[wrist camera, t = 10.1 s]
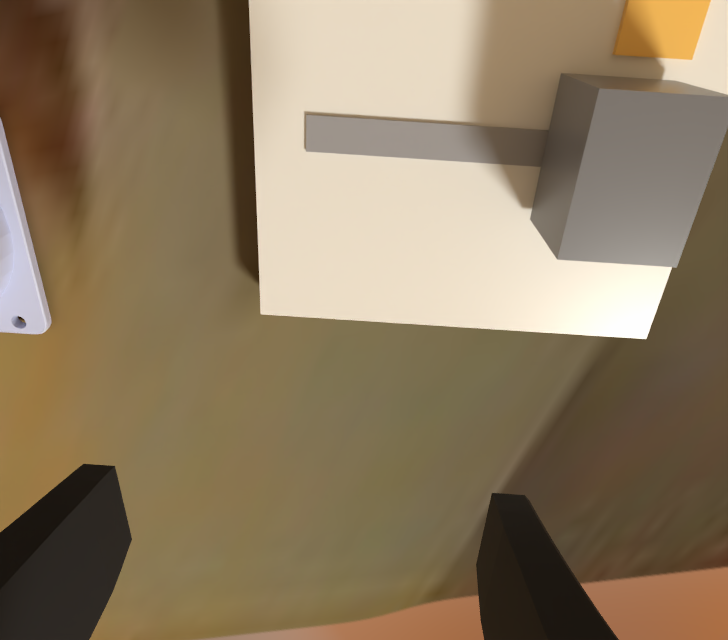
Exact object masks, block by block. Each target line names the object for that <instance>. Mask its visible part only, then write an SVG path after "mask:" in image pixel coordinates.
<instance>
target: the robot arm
mask: <svg viewBox="0 0 728 640" xmlns="http://www.w3.org/2000/svg"><path fill="white" fill-rule="evenodd" d="M18 316H19V317H22V318H23V319H24V320H25V322H26V323H24V322H22V321H20V320H19V318H18ZM50 325H51V316H50V312H49V308H48V304H47V300H46V296H45V292H44V288H43V284H42V280H41V276H40V272H39V268H38V264H37V260H36V256H35V252H34V248H33V244H32V240H31V236H30V232H29V228H28V224H27V220H26V216H25V212H24V208H23V204H22V200H21V196H20V192H19V188H18V184H17V180H16V176H15V172H14V168H13V164H12V160H11V156H10V152H9V148H8V144H7V140H6V136H5V132H4V128H3V124H2V121H1V118H0V332H8V333H24V334H42V333H44V332H45V331H46V330H47V329H48V328H49V327H50ZM131 540H132V538H131V533H130V529H129V525H128V521H127V516H126V512H125V508H124V503H123V499H122V495H121V490H120V486H119V482H118V478H117V473H116V469H115V466H105V465H91V464H83V465H82V466H80V467H79V468H78V469H77V470H75V471H74V472H73V473H72V474H71V475H69V476H68V477H67V478H66V479H65V480H63V481H62V482H61V483H60V484H58V485H57V486H56V487H55V488H54V489H52V490H51V491H50V492H49V493H48V494H46V495H45V496H44V497H43V498H42V499H40V500H39V501H38V502H37V503H36V504H34V505H33V506H32V507H31V508H30V509H28V510H27V511H26V512H25V513H24V514H22V515H21V516H20V517H19V518H18V519H16V520H15V521H14V522H13V523H12V524H10V525H9V526H8V527H7V528H5V529H4V530H3V531H2V532H0V640H89V639H90V637H91V635H92V633H93V631H94V629H95V627H96V625H97V623H98V621H99V619H100V617H101V615H102V613H103V611H104V609H105V607H106V605H107V603H108V600H109V598H110V596H111V594H112V592H113V590H114V587H115V584H116V582H117V579H118V576H119V574H120V571H121V568H122V566H123V563H124V560H125V557H126V554H127V551H128V548H129V546H130V543H131ZM476 566H477V580H478V593H479V605H480V616H481V624H482V630H483V635H484V640H619V639H618V638H617V637H616V635H615V634H614V633H613V631H612V630H611V628H610V627H609V626H608V624H607V623H606V621H605V620H604V619H603V617H602V616H601V614H600V613H599V612H598V610H597V609H596V607H595V606H594V604H593V603H592V601H591V600H590V598H589V597H588V595H587V594H586V592H585V591H584V589H583V588H582V586H581V585H580V583H579V582H578V580H577V579H576V577H575V576H574V574H573V573H572V571H571V570H570V568H569V566H568V565H567V563H566V562H565V560H564V558H563V557H562V555H561V554H560V552H559V550H558V549H557V547H556V546H555V544H554V542H553V541H552V539H551V537H550V536H549V534H548V532H547V531H546V529H545V527H544V526H543V524H542V522H541V520H540V519H539V517H538V515H537V513H536V512H535V510H534V508H533V506H532V505H531V503H530V501H529V500H528V499H527V497H526V496H525V495H513V494H499V493H492V496H491V500H490V505H489V509H488V514H487V518H486V523H485V527H484V532H483V537H482V541H481V546H480V550H479V555H478V559H477V564H476Z"/></svg>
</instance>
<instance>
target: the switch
mask: <svg viewBox="0 0 728 640" xmlns="http://www.w3.org/2000/svg"><path fill="white" fill-rule="evenodd" d="M727 128H728V95H727V94H723V93H719V92H716V91H712V90H708V89H705V88H701V87H697V86H694V85H690V84H686V83H683V82H679V81H675V80H660V79H645V78H630V77H615V76H600V75H585V74H569V73H561V75H560V80H559V85H558V89H557V94H556V99H555V103H554V108H553V113H552V118H551V122H550V127H549V132H548V136H547V141H546V146H545V150H544V155H543V160H542V165H541V169H540V174H539V179H538V183H537V188H536V193H535V197H534V202H533V207H532V211H531V216H530V220H531V222H532V223H533V225H534V226H535V228H536V229H537V231H538V232H539V233H540V235H541V236H542V238H543V239H544V241H545V242H546V244H547V245H548V247H549V248H550V250H551V251H552V253H553V254H554V256H555V257H556V259H557V260H570V261H586V262H601V263H616V264H632V265H647V266H663V267H677V265H678V262H679V259H680V257H681V254H682V251H683V248H684V246H685V243H686V240H687V237H688V235H689V232H690V229H691V226H692V224H693V221H694V218H695V215H696V213H697V210H698V207H699V204H700V202H701V199H702V196H703V193H704V191H705V188H706V185H707V183H708V180H709V177H710V174H711V172H712V169H713V166H714V163H715V161H716V158H717V155H718V152H719V150H720V147H721V144H722V141H723V139H724V136H725V133H726V130H727Z"/></svg>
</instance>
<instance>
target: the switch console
mask: <svg viewBox="0 0 728 640" xmlns="http://www.w3.org/2000/svg"><path fill="white" fill-rule="evenodd" d="M249 19H250V45H251V71H252V98H253V124H254V150H255V177H256V203H257V230H258V256H259V282H260V309H261V314H265V315H281V316H296V317H312V318H327V319H343V320H359V321H374V322H390V323H405V324H421V325H436V326H452V327H467V328H483V329H498V330H514V331H529V332H545V333H561V334H576V335H592V336H607V337H623V338H638V339H646V338H647V335H648V332H649V330H650V327H651V324H652V321H653V319H654V316H655V313H656V310H657V307H658V305H659V302H660V299H661V296H662V294H663V291H664V288H665V285H666V282H667V280H668V277H669V274H670V271H671V269H672V267H663V266H647V265H632V264H616V263H601V262H586V261H570V260H557V259H556V257H555V256H554V254H553V253H552V251H551V250H550V248H549V247H548V245H547V244H546V242H545V241H544V239H543V238H542V236H541V235H540V233H539V232H538V231H537V229H536V228H535V226H534V225H533V223H532V222H531V220H530V216H531V211H532V207H533V202H534V197H535V193H536V188H537V183H538V179H539V174H540V169H541V165H542V160H543V155H544V150H545V146H546V141H547V136H548V132H549V127H550V122H551V118H552V113H553V108H554V103H555V99H556V94H557V89H558V85H559V80H560V75H561V73H569V74H585V75H600V76H615V77H630V78H645V79H660V80H675V81H679V82H683V83H686V84H690V85H694V86H697V87H701V88H705V89H708V90H712V91H716V92H719V93H723V94H727V95H728V0H249Z"/></svg>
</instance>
